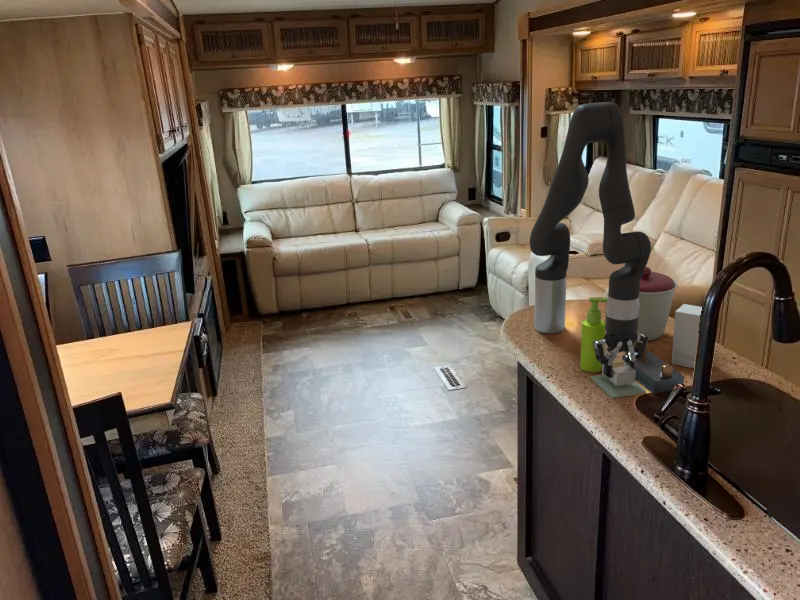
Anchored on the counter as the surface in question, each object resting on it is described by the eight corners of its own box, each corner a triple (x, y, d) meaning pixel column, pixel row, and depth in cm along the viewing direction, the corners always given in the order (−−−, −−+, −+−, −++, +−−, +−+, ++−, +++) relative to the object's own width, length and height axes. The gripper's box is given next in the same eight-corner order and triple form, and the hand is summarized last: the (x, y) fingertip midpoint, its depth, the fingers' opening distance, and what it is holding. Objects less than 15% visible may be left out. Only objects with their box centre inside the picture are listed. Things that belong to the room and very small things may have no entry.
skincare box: (710, 362, 164) (717, 308, 158) (702, 372, 159) (708, 317, 154) (678, 354, 169) (684, 302, 164) (669, 363, 165) (674, 310, 159)
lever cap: (602, 373, 158) (603, 358, 156) (619, 370, 158) (620, 355, 157) (616, 386, 151) (617, 370, 150) (634, 383, 152) (635, 367, 151)
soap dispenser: (608, 372, 162) (612, 302, 155) (581, 371, 164) (584, 302, 156) (605, 362, 167) (609, 294, 160) (579, 361, 169) (582, 294, 162)
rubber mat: (590, 378, 160) (590, 376, 160) (622, 373, 161) (622, 371, 161) (612, 398, 150) (612, 396, 150) (645, 392, 151) (645, 390, 151)
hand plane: (621, 367, 164) (623, 338, 161) (648, 362, 166) (651, 334, 163) (653, 393, 151) (656, 362, 148) (682, 388, 152) (686, 358, 149)
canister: (628, 350, 173) (633, 280, 166) (596, 326, 190) (600, 262, 183) (685, 341, 176) (693, 272, 169) (649, 319, 193) (655, 255, 186)
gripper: (640, 303, 153) (635, 364, 159) (587, 311, 151) (584, 372, 157) (658, 314, 146) (652, 377, 152) (602, 322, 144) (599, 386, 150)
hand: (618, 374), depth 155 cm, fingers closed on lever cap, 5 cm apart
